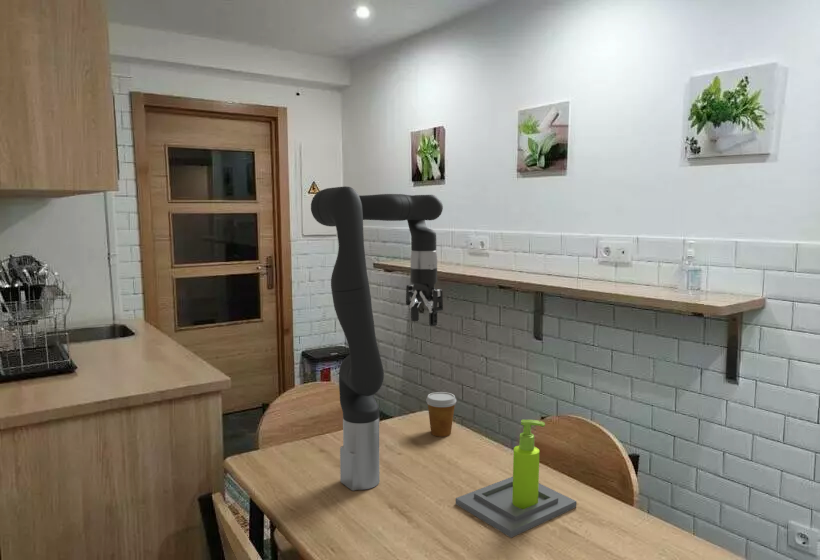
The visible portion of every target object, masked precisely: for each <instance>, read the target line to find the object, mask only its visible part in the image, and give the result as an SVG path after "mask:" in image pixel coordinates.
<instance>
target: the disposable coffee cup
mask: <svg viewBox="0 0 820 560" xmlns="http://www.w3.org/2000/svg"><path fill="white" fill-rule="evenodd" d="M425 401H426V404H427V409H428V418H429V427H430V434H431V435H433V436H434V437H439V438H442V437H448V436H450V435H451V434H452V426H453V423H454V422H453V419H454V416H455V415H454V413H455V407H456V404H457V398H456V396H455V394H453V393H451V392H446V391H436V392H431V393H429V394H427V397H426V399H425Z"/></svg>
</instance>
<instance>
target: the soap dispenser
mask: <svg viewBox="0 0 820 560" xmlns="http://www.w3.org/2000/svg"><path fill="white" fill-rule="evenodd" d="M520 425H521V426H523V430H522V431H523V432H520V433H519V435H518V436H519V442H518V445H516V446H514V447H513V458H512V459H513V463H512V477H513V497H512V503H513V505H514V506H516V507H518V508H520V509H525V508H528V507H530V506H532V505H535V504H537V503H538V487H539V482H540V481H539V480H540V479H539V477H540V449H539V448H538V447H536V446H535V434H533V433H532V426H539V427H542V428H545V426H546V423H545V422H544V421H541V420H537V419H536V420H535V419H521V421H520Z"/></svg>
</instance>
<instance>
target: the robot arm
mask: <svg viewBox="0 0 820 560" xmlns="http://www.w3.org/2000/svg"><path fill="white" fill-rule="evenodd" d="M310 202H311V203H310V210H311V215H312V217H313V219H315V221H316V222H317V223H318V224H320V225H322V226H326V227H335V228H336V234H337V242H338V251H337V256H336V260H335V264H334V266H333V270H332V272H331V273H332V274H331V278H330V288H331V295H332V302H333V307H334V311H335V314H336V317H337V319H338V322H339V325H340V327H341V329H342V331H343V333H344V337H345V338H346V341H347V346H348V350H349V352H348V353H349V354H348V355H347V356H346V357H345V358H344V359H343V360H342V362H341V364H340V367H339V372H338V385H339V386H338V388H339V391H338V392H339V402H340V407H341V411H342V441H343V443H342V444H343V445H342V446H340V447H339V463H340V464H339V465H340V466H339V468H340V470H339V471H340V472H339V474H340V476H339V477H340V478H339V479H340V483H341V484H342V485H344V486H345V487H346V488H348V489H350V490H351V491H357V490H358V491H361V490H363V491H364V490H369V489H372V488H374V487H377V486H378V485H379V484H380V482H381V481H380V475H381V474H380V407H379V404H378V402H377V401H376V398H375V395H376V393H378V392H379V391H380V389H381V388H382V386H383V383H384V378H385V374H384V373H385V372H384V366H383V362H382V359H381V355H380V354H381V353H380V351H379V346H378V342H377V337H376V328H375V322H374V314H373V307H372V306H373V305H372V298H371V297H372V296H371V290H370V289H371V288H370V282H369V277H368V271H367V262H366V261H367V260H366V252H365V244H364V243H365V241H364V221H383V222H384V221H385V222H386V221H388V222H389V221H390V222H391V221H393V222H400V221H407V224H408V230H409V234H410V236H411V237H410V238H411V243H410V244H411V245H410V246H411V251H410V283H411V284H407V285H406V286H405V287H406V289H405V290H406V291H405V305H406V306H409V308H410V320H411V321H412V322H419V320H420V317H419V316H420V315H419V311H420V310H419V309H420V308H419V307H420V304H421V303H422V304H424V306H426V307H427V309H428V311H429V313H428V324H429V325H428V326H429V327H436V326H437V325H438V313H439V312H440V311H441V312H442V311H444V303H443V302H444V300H443V289H441V288H438V289H436V287H435V284H437V283H438V256H437V255H438V254H437V232H436V231H435V230H433V229H432V228H429V227H428V226H427V224H426V221H434V220H437V219H438V218H439V217H440V216H441V215H442V213H443V210H444V209H443V208H444V206H443V202H442V200H441V199H440V198H439V197H438V196H437V195H434V194H415V195H413V194H412V195H411V194H403V193H402V194H401V193H382V194H381V193H380V194H379V193H378V194H367V195H365V194H363V195H359V193H358V192H357V191H356V190H355V189H354V188H352V187H351V186H345V185H344V186H336V187H328V188H324V189H321V190H319V191H318V192H316V194H314V196H313V197H312V199H311V201H310Z"/></svg>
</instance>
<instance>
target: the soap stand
mask: <svg viewBox="0 0 820 560" xmlns="http://www.w3.org/2000/svg"><path fill="white" fill-rule="evenodd" d="M512 497H513V476H510V477H508V478H505V479H502V480H499V481H497V482H495V483H492V484H490V485H487V486H484V487H481V488H479V489H476V490H473V491H470V492H469V493H466V494H463V495H460V496H458V497H456V498H455V505H456V506H458V507H460V508H461V509H463V510H464V511H466V512H468V513H470V514H471V515H472V516H474V517H476V518H478V519H480V520H481V521H483V522H484V523H486V524H488V525H489V526H491V527H492V528H494V529H496V530H497V531H499V532H501V533H502V534H504V535H506V536H507V537H509V538H513V537H516V536H518V535H520V534H522V533H524V532H526V531H529V530H531V529H533V528H535V527H537V526H539V525H541V524H544V523H545V522H548V521H550V520H552V519H555V518H556V517H558V516H561V515H562V514H565V513H567V512H569V511H571V509H572V510H573V508H574V509H575V507H576V508H577V500H575V499H573V498H570V497H568V496H567V495H564V494H562V493H560V492H558V491H556V490H554V489H553V488H551V487H548V486H545V485H544V484H541V483H539V487H538V503H537V504H535V505H532V506H530V507H528V508H525V509H520V508H518V507H516V506H514V505H513V503H512Z"/></svg>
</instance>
